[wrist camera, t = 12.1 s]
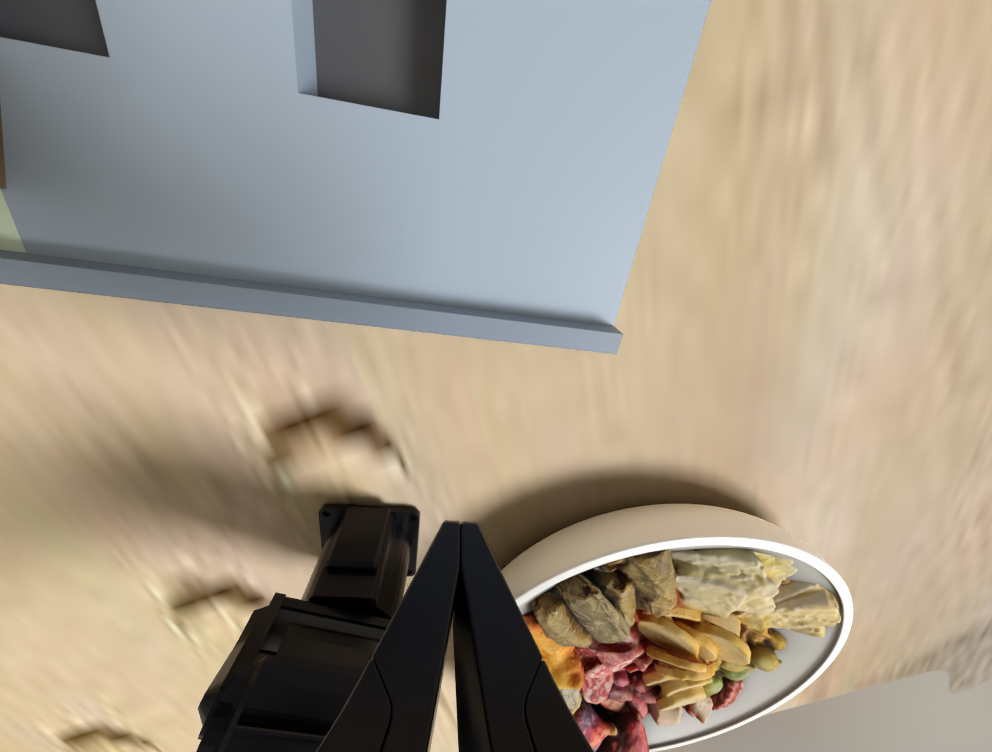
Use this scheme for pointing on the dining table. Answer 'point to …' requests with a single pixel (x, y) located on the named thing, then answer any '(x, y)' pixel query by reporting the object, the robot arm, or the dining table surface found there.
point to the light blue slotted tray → (343, 156)
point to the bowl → (678, 621)
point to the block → (2, 158)
